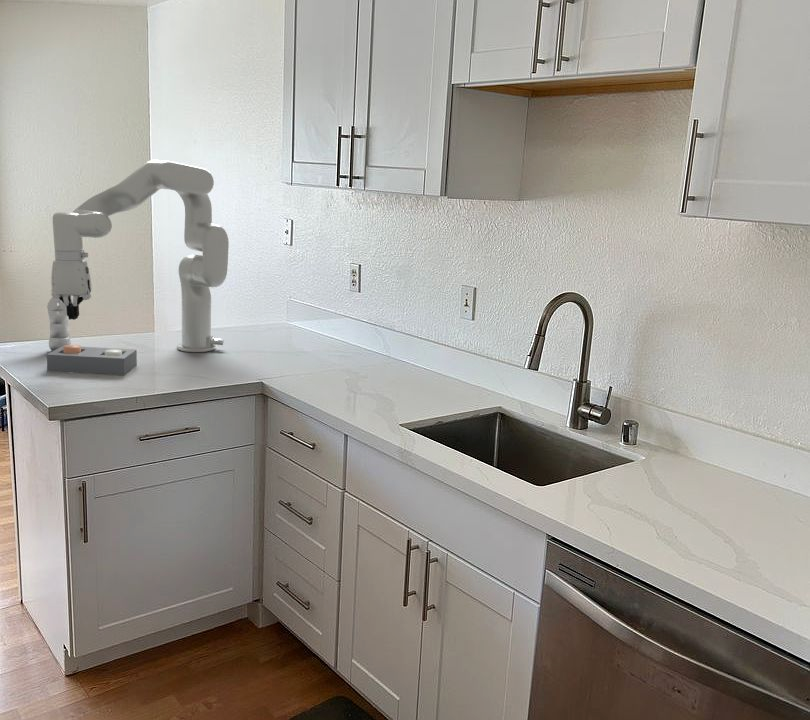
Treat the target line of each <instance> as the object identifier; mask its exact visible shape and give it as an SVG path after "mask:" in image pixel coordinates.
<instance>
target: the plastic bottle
mask: <svg viewBox="0 0 810 720" xmlns="http://www.w3.org/2000/svg"><path fill="white" fill-rule="evenodd" d="M50 291H51V293H50V294H51V295H50V296H51V298H50V299H49V301H48V302H47V305H46V308H47V314H48V318H49V319H48V321H49V339H48V347H49V349H50V351H51V352H52V351H54V350H56V349H58V348H60V347H61V346H65V345H72V340H71V337H70V331H69V319H68V316H67V309H66V306H65V304H64V303H63V302H62V301H61V300H59V299H55V298H53V297H52V296H53V292H52V289H51V290H50Z"/></svg>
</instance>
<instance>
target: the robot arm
mask: <svg viewBox="0 0 810 720" xmlns="http://www.w3.org/2000/svg"><path fill="white" fill-rule="evenodd" d="M214 182H215V181H214V177H213V174H212V173H211V172H210V171H209V170H208V169H206V168H203V167H201V166H200V167H198V166H194V165H189V164H185V163H181V162H180V163H179V162H176V161H170V160H163V159H162V160H159V159H151V160H149V161H147V162H145V163H143V164H142V165H141V166H140V167H138V168H137V169H136V170H134V171H133V172H132V173H131V174H129V175H128V176H126V178H123V180H122V181H120V182H118V184H115V185H114V186H110V187H109V188H107V189H106V190H103V191H101V192H99V193H98V194H95V195H93V196H92V197H89V198H88V199H87V200H85V201H84V202H83V203H81V204H80V205H79V206H78V207H77V208H75V209H74V210H73V211H72V212H69V211H65V212H63V211H61V212H59V211H58V212H56V213H54V214H53V215H52V233H53V244H54V245H53V246H54V260H52V266H51V268H52V269H51V278H50V279H51V281H50V282H51V290H52V292H53V296H52V295H51V298H52V297H53V298H55V299H59V300H61V301H62V302H63V303H64V304H65V306H66V309H67V316H68V320H73V321H74V320H76V319H78V318H79V316H80V308H79V307H80V306H79V305H80V304H81V303H82V302H83V301H87V300H90V299H91V298H92V295H91V293H92V292H93V291H92V290H93V287H92V280H91V279H92V278H91V273H90V268H89V264H88V262H87V260H84V259H85V258H88V257H89V253H88V252H85V251H84V249H83V248H84V246H83V245H84V244H83V238H94V239H99V238H105V237H106V236H107V235H109V234H110V232H111V231H112V224H113V223H112V220H111V219H110V216H113V215H115V214H118V213H123V212H129V211H131V210H132V211H133V210H134V209H137V208H139V207H140V206H141V205H142V204H143V203H145V202H146V201H147V200H148V199H149V198H151V197H152V196H153V195H154V194H156V193H157V192H158V191H160V190H161V189H162V190H163V189H164V190H170V191H175V192H176V193H177V194H178V195H179V197H180V198H181V199H182V202H183V205H184V233H183V235H184V236H183V237H184V243H185V245H186V247H187V248H188V249H190V250H193V251H196V252H201V253H202V255H200V254H189V255H186V256H185V257H183V258H182V259H181V260H180V262H179V264H178V277H179V282H180V288H181V342H179V343H177V344H176V348H177V350H179V351H182V352H187V353H207V352H211V351H214V350H216V345H217V346H224V344H225V343H224V341H225V340H224V339H222V338H215V337H214V334H213V333H212V295H211V289H210V288H217V287H220V286H221V285H223V283H224V282H225V281H226V279H227V275H228V267H229V266H228V264H229V247H230V246H229V237H228V234H227V231H226V230H225V228H223V226H221V225H220V224H217V223H213V221H212V220H213V214H212V213H213V212H212V210H213V209H212V203H211V199H210V197H209V193H210V192H211V191H212V190H213V188H214V184H215V183H214ZM52 292H51V293H52Z"/></svg>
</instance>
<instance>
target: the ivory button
mask: <svg viewBox="0 0 810 720" xmlns="http://www.w3.org/2000/svg"><path fill="white" fill-rule="evenodd" d="M105 355H113V356H121V355H122V351H121V350H106V351H105Z"/></svg>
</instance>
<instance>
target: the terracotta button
mask: <svg viewBox="0 0 810 720" xmlns="http://www.w3.org/2000/svg"><path fill="white" fill-rule="evenodd" d="M81 347H82V346H81V345H79V344H71V345H65V346H63V353H74V354H79V353H81Z"/></svg>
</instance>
